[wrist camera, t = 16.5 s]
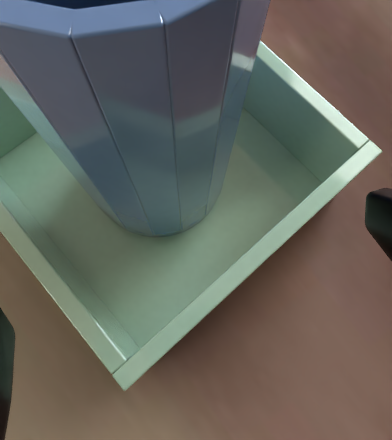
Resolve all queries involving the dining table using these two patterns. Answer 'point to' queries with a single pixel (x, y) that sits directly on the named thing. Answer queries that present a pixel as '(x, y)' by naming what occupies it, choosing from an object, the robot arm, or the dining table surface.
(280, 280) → the dining table surface
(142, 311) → the basin
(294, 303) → the dining table surface
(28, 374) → the dining table surface
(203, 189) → the tumbler
